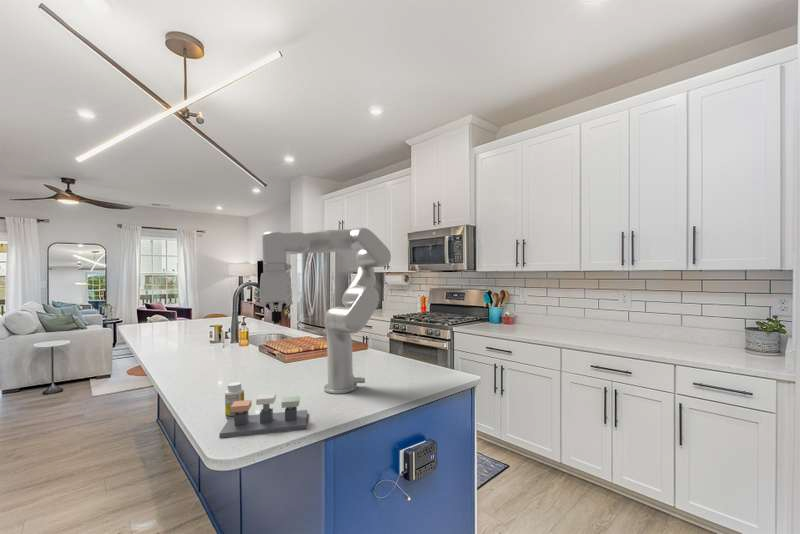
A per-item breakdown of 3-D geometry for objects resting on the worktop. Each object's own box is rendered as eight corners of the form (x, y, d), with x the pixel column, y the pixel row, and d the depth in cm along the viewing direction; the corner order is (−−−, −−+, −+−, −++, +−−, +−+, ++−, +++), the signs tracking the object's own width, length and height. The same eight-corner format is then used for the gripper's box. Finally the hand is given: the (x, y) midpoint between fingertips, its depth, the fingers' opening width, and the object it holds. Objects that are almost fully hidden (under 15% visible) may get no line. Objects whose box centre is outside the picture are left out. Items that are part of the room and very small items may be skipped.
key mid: (275, 408, 113) (275, 392, 113) (273, 413, 109) (273, 397, 109) (259, 409, 112) (259, 394, 112) (256, 415, 108) (256, 399, 108)
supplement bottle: (239, 411, 122) (238, 380, 122) (247, 415, 118) (247, 383, 118) (222, 416, 118) (221, 384, 118) (230, 421, 114) (229, 387, 114)
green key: (299, 410, 115) (299, 395, 115) (298, 416, 110) (298, 400, 110) (283, 412, 114) (283, 397, 114) (281, 418, 109) (281, 402, 109)
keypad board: (307, 413, 119) (307, 400, 119) (305, 428, 107) (305, 414, 107) (230, 421, 114) (230, 407, 114) (219, 437, 102) (219, 422, 102)
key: (251, 415, 112) (251, 399, 112) (248, 421, 107) (248, 405, 107) (234, 416, 111) (234, 401, 111) (230, 423, 106) (230, 406, 106)
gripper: (298, 268, 130) (300, 320, 130) (253, 269, 127) (254, 323, 127) (297, 267, 123) (299, 323, 123) (249, 269, 120) (251, 326, 119)
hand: (276, 323), depth 125 cm, fingers closed
